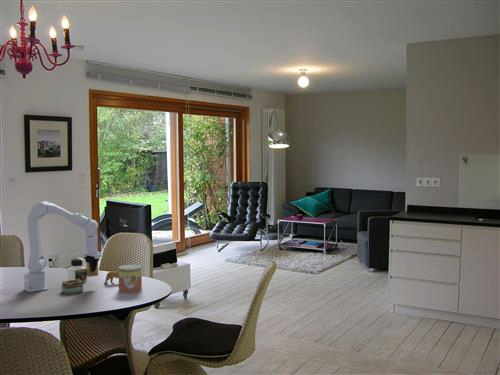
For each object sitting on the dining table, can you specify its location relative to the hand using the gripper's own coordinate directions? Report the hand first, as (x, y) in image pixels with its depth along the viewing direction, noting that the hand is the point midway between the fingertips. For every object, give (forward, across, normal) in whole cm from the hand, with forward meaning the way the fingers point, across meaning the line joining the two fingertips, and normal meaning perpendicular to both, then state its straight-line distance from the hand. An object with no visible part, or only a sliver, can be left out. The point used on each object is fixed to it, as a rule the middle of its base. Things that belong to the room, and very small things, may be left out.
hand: (91, 270), depth 259 cm
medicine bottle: (+9, +19, 0) cm, 21 cm away
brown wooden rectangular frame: (+6, 0, +10) cm, 12 cm away
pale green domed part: (+9, 0, +10) cm, 13 cm away
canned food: (+9, -16, -13) cm, 23 cm away
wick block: (+2, 0, 0) cm, 3 cm away
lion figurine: (+9, +2, -15) cm, 18 cm away
